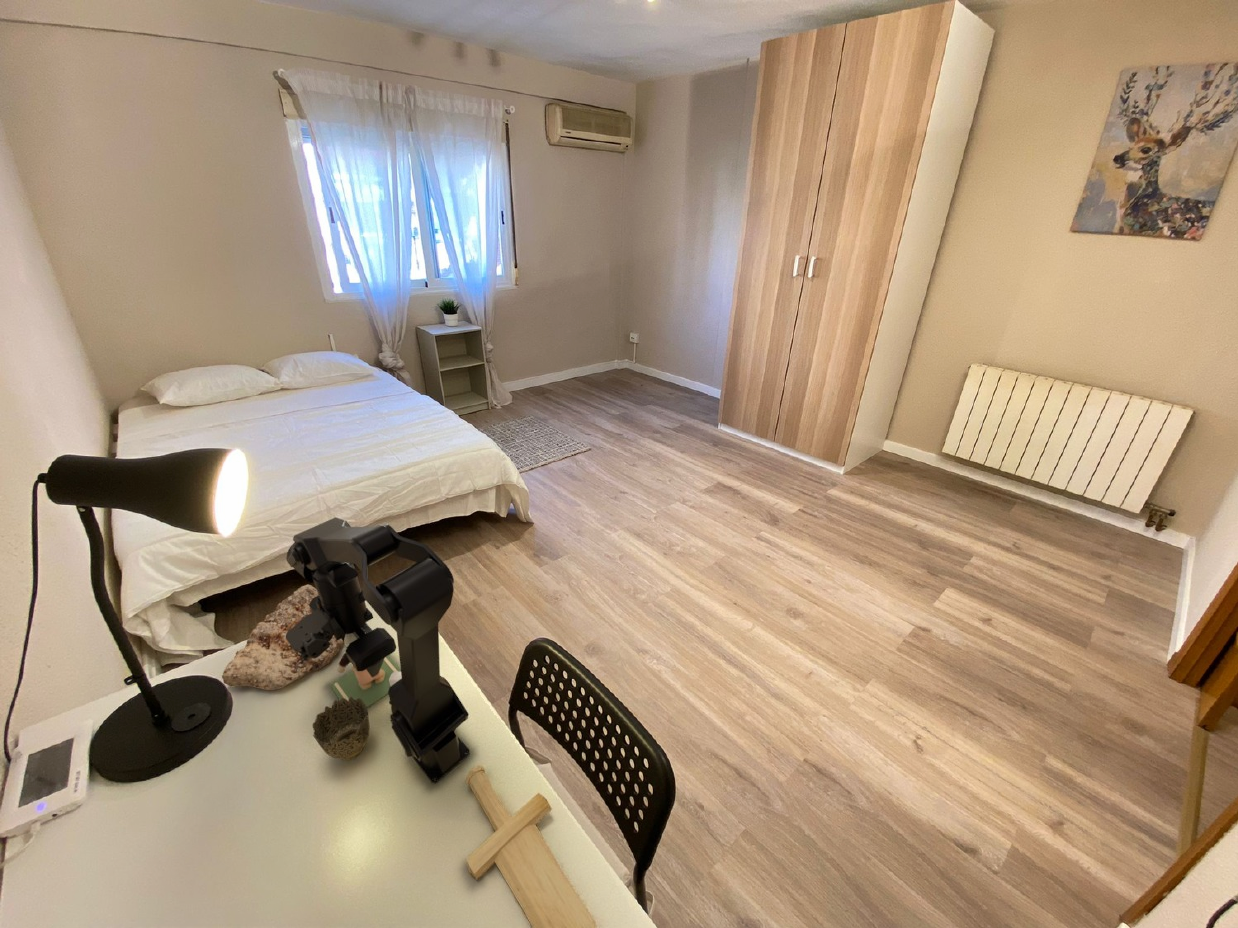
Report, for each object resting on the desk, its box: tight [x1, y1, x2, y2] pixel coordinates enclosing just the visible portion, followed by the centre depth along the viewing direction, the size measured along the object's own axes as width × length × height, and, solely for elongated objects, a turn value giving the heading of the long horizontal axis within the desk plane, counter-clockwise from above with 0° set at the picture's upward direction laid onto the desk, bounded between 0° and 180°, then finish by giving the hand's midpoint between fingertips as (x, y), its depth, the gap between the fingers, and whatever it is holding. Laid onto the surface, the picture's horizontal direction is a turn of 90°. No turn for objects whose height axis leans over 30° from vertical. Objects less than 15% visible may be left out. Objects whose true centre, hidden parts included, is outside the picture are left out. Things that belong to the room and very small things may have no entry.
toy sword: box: [465, 764, 598, 928], centre depth 65 cm, size 12×3×30 cm
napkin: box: [329, 655, 401, 709], centre depth 90 cm, size 9×10×1 cm
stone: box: [221, 584, 344, 691], centre depth 94 cm, size 22×8×15 cm
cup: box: [312, 697, 370, 761], centre depth 77 cm, size 8×7×8 cm
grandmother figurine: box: [337, 633, 385, 690], centre depth 87 cm, size 8×4×13 cm, turn 137°
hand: (362, 659), depth 87 cm, fingers open, 9 cm apart
